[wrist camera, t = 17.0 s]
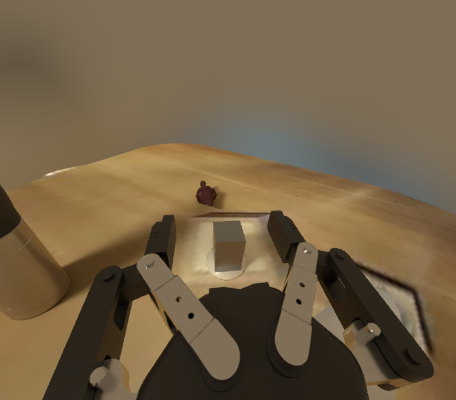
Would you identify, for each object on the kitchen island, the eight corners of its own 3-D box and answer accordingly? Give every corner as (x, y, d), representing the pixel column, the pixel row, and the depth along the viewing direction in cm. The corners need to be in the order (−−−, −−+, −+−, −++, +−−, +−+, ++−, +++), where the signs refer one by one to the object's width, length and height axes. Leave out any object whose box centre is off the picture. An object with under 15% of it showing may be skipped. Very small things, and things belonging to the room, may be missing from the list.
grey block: (214, 272, 40) (215, 242, 35) (213, 250, 46) (213, 221, 40) (240, 270, 41) (245, 240, 36) (236, 249, 46) (239, 220, 41)
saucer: (197, 263, 43) (197, 261, 43) (223, 240, 50) (223, 238, 49) (229, 289, 38) (230, 287, 38) (253, 259, 45) (254, 257, 44)
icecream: (224, 197, 57) (212, 179, 69) (202, 195, 53) (193, 177, 66) (219, 215, 59) (208, 195, 71) (198, 214, 56) (190, 193, 68)
